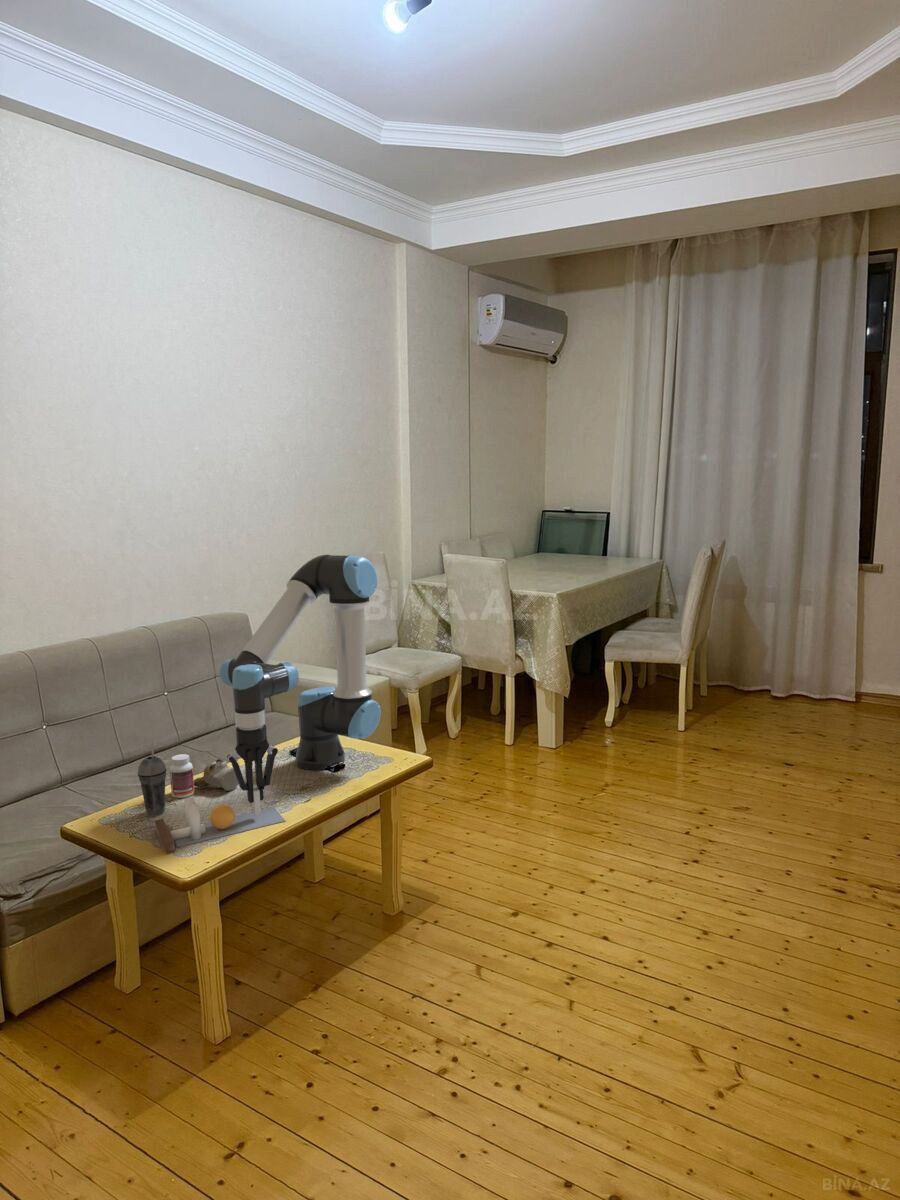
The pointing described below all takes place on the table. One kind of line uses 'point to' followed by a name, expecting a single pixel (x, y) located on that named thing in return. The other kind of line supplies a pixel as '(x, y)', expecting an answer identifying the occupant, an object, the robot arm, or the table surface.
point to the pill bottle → (181, 776)
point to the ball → (222, 817)
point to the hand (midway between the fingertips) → (256, 812)
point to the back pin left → (195, 821)
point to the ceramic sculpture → (218, 776)
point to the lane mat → (236, 826)
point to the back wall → (164, 836)
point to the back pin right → (188, 802)
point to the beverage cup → (153, 784)
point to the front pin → (185, 832)
